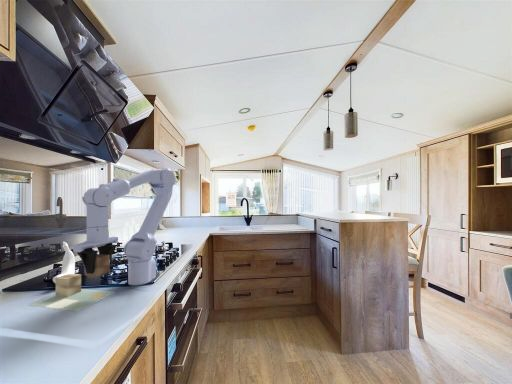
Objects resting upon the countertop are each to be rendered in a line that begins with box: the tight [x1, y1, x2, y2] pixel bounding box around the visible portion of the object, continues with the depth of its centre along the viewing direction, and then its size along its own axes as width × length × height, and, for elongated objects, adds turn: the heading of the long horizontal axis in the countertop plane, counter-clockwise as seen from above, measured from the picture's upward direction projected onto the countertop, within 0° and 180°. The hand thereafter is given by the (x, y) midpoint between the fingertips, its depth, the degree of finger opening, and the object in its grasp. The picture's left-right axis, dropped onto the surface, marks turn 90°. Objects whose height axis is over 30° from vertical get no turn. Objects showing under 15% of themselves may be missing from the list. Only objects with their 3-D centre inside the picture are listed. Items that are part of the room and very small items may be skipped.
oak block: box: [55, 273, 82, 297], centre depth 79 cm, size 5×5×5 cm
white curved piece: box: [52, 241, 76, 285], centre depth 90 cm, size 5×19×15 cm, turn 31°
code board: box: [27, 288, 116, 312], centre depth 75 cm, size 14×17×1 cm
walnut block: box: [84, 253, 111, 277], centre depth 77 cm, size 5×5×5 cm
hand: (97, 270), depth 77 cm, fingers closed on walnut block, 5 cm apart
